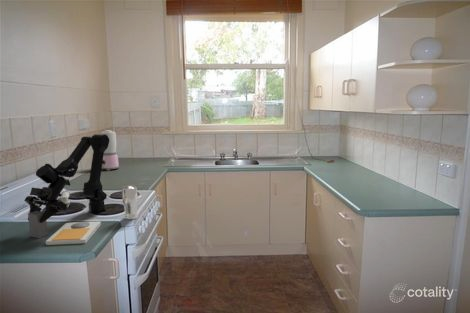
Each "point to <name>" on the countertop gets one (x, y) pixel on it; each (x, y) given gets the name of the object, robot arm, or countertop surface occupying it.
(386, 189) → the countertop surface
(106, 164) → the blender
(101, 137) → the robot arm
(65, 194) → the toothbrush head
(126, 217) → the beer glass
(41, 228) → the chute block
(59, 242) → the white plate with inlay
